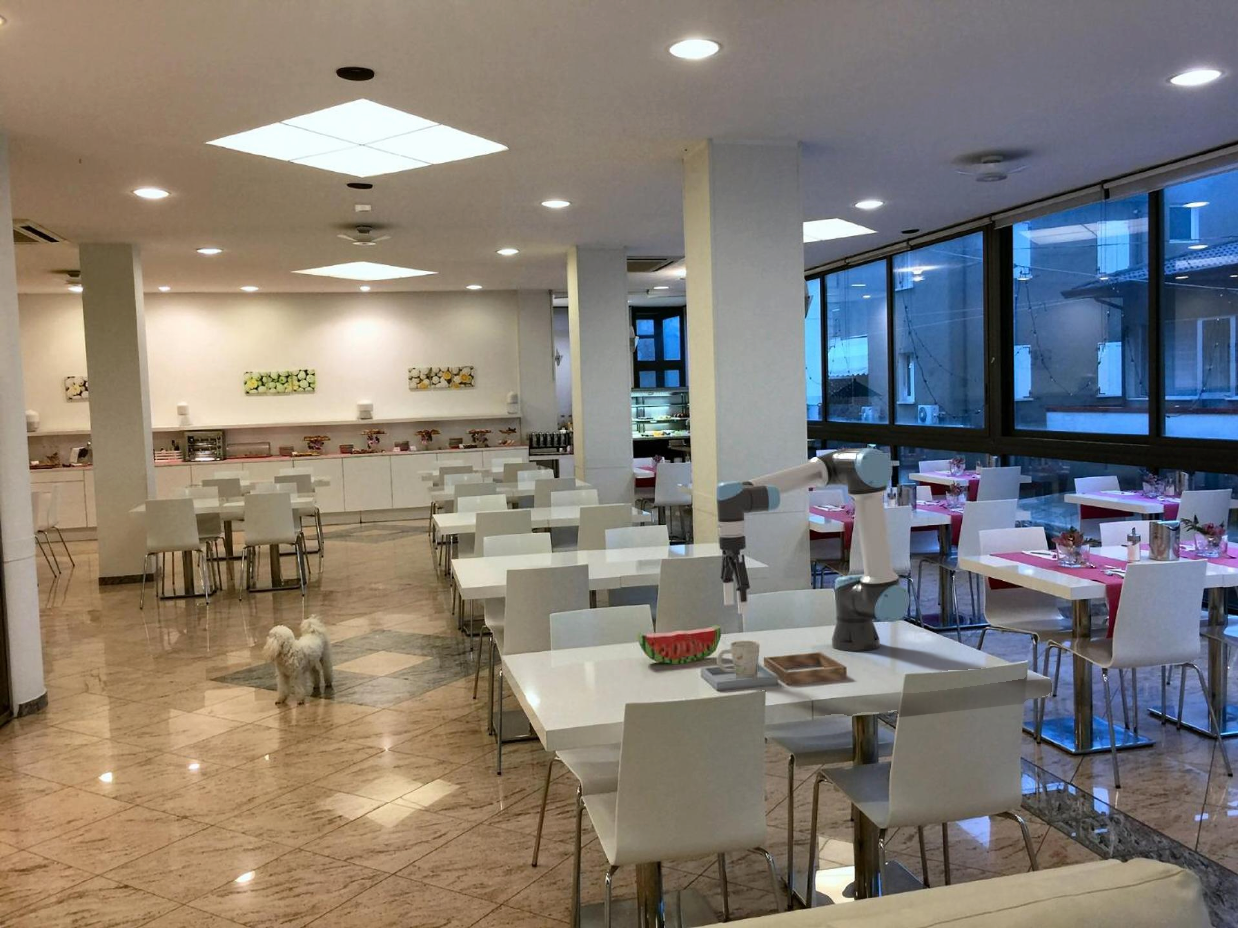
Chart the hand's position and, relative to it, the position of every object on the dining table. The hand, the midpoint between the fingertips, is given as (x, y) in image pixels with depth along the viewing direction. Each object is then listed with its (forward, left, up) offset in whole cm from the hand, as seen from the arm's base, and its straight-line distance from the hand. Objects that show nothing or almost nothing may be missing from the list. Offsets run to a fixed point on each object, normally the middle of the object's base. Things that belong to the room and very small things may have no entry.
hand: (736, 608), depth 285 cm
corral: (-20, 0, -21) cm, 29 cm away
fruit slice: (+10, -29, -21) cm, 37 cm away
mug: (0, 0, -20) cm, 20 cm away
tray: (0, 0, -21) cm, 21 cm away
